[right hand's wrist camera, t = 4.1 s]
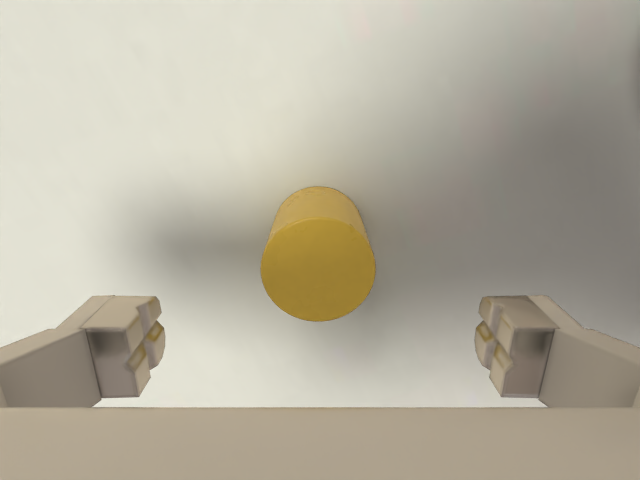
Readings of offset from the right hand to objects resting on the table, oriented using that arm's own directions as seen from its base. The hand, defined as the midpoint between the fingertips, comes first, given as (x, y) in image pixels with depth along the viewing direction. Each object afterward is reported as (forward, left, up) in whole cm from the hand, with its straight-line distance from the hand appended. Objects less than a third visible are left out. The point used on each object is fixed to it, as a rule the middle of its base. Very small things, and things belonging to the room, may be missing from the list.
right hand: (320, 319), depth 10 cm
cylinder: (0, 0, -9) cm, 9 cm away
